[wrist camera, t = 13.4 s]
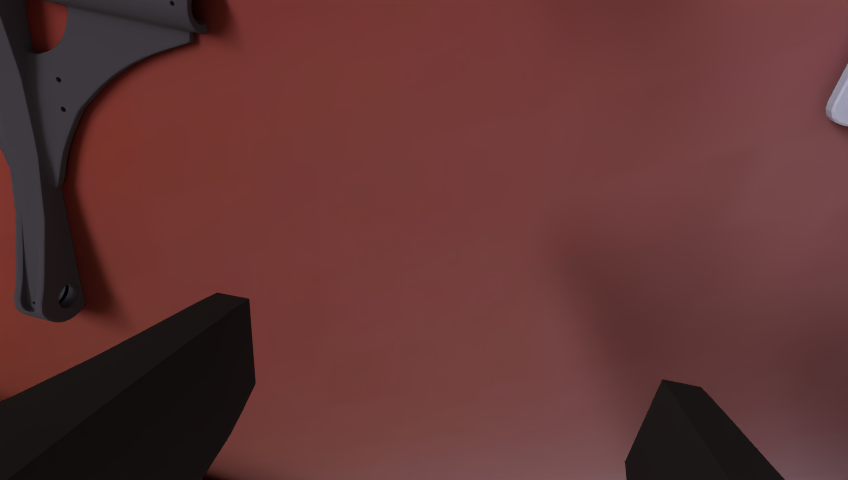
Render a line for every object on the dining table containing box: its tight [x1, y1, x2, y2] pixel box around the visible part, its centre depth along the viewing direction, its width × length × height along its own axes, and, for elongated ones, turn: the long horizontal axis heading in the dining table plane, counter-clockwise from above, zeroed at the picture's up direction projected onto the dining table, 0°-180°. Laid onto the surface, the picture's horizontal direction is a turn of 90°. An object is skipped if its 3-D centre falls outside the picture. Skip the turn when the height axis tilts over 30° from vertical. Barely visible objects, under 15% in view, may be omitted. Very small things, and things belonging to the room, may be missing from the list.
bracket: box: [0, 0, 207, 322], centre depth 19 cm, size 14×15×3 cm
